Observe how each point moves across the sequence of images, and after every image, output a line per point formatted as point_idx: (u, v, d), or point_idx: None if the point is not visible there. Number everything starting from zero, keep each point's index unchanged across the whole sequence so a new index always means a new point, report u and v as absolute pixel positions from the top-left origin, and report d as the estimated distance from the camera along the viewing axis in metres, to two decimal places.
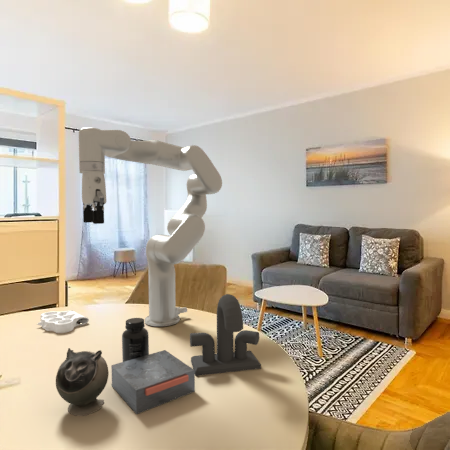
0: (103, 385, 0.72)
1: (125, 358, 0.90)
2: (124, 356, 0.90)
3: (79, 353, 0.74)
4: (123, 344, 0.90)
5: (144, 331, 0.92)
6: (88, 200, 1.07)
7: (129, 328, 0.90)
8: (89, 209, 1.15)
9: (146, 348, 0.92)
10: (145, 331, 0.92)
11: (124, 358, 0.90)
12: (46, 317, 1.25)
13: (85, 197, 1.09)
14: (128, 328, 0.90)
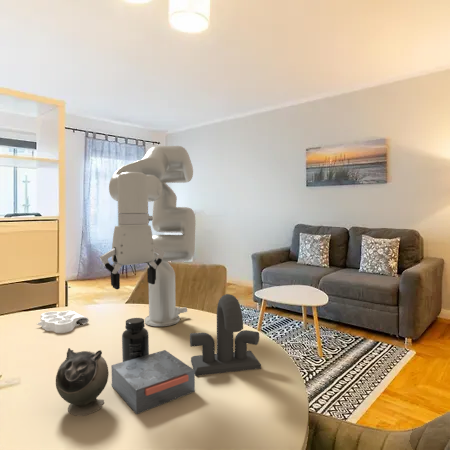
0: (103, 385, 0.72)
1: (125, 358, 0.90)
2: (124, 356, 0.90)
3: (79, 353, 0.74)
4: (123, 344, 0.90)
5: (144, 331, 0.92)
6: (145, 259, 0.91)
7: (129, 328, 0.90)
8: None
9: (146, 348, 0.92)
10: (145, 331, 0.92)
11: (124, 358, 0.90)
12: (46, 317, 1.25)
13: (137, 256, 0.89)
14: (128, 328, 0.90)
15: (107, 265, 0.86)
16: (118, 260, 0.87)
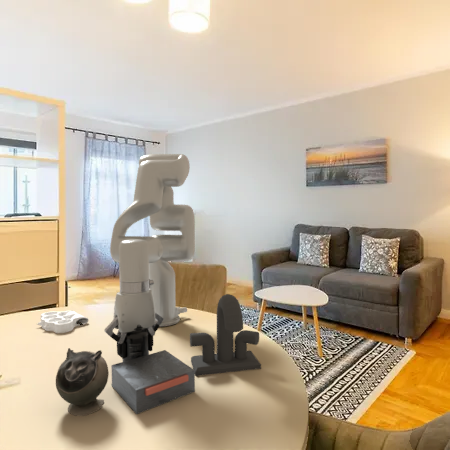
0: (103, 385, 0.72)
1: (125, 358, 0.90)
2: None
3: (79, 353, 0.74)
4: None
5: (144, 331, 0.92)
6: (147, 324, 0.92)
7: None
8: None
9: (146, 348, 0.92)
10: (145, 331, 0.92)
11: (124, 358, 0.90)
12: (46, 317, 1.25)
13: (138, 322, 0.91)
14: None
15: (113, 336, 0.88)
16: (120, 329, 0.88)
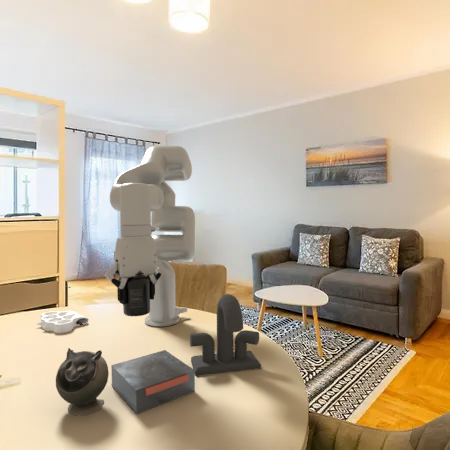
0: (103, 385, 0.72)
1: (126, 304, 0.87)
2: None
3: (79, 353, 0.74)
4: None
5: (145, 278, 0.89)
6: (148, 271, 0.89)
7: None
8: None
9: (147, 295, 0.89)
10: (146, 278, 0.89)
11: (125, 304, 0.88)
12: (46, 317, 1.25)
13: (139, 268, 0.88)
14: None
15: (114, 280, 0.85)
16: (120, 273, 0.85)
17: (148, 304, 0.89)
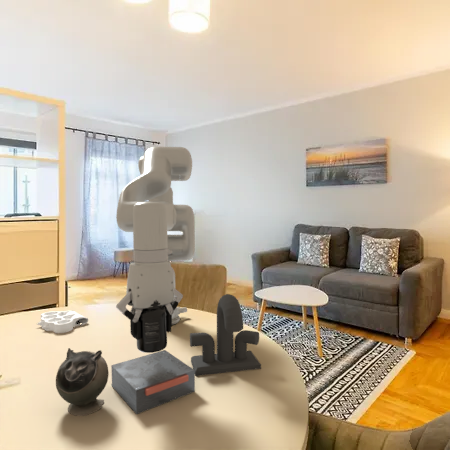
0: (103, 385, 0.72)
1: (140, 339, 0.77)
2: None
3: (79, 353, 0.74)
4: None
5: (162, 308, 0.79)
6: (165, 300, 0.79)
7: None
8: None
9: (164, 328, 0.79)
10: (163, 308, 0.79)
11: None
12: (46, 317, 1.25)
13: (155, 298, 0.78)
14: None
15: (127, 313, 0.75)
16: (134, 304, 0.75)
17: (165, 338, 0.79)
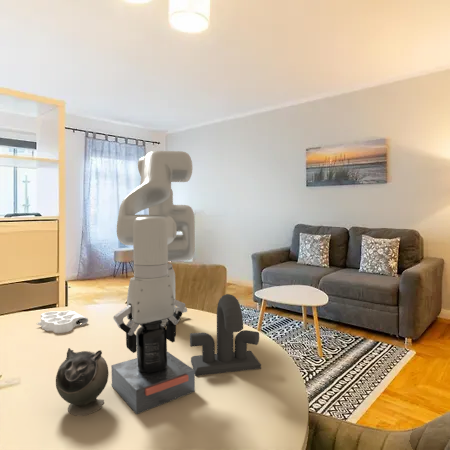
0: (103, 385, 0.72)
1: (140, 360, 0.78)
2: (139, 357, 0.78)
3: (79, 353, 0.74)
4: (138, 343, 0.78)
5: (162, 328, 0.80)
6: (165, 315, 0.80)
7: (144, 325, 0.78)
8: None
9: (164, 348, 0.79)
10: (163, 328, 0.80)
11: (139, 360, 0.78)
12: (46, 317, 1.25)
13: (156, 313, 0.78)
14: (143, 325, 0.78)
15: (122, 326, 0.75)
16: (134, 319, 0.75)
17: (165, 358, 0.79)
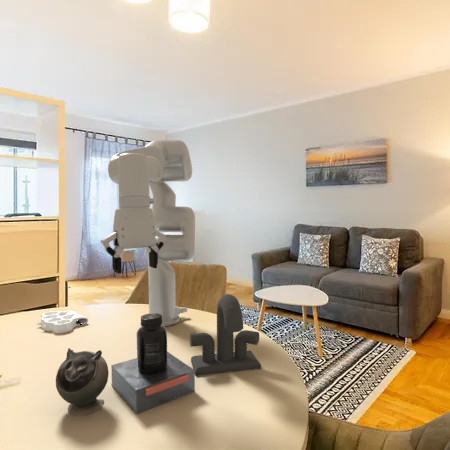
0: (103, 385, 0.72)
1: (141, 360, 0.78)
2: (139, 357, 0.78)
3: (79, 353, 0.74)
4: (138, 343, 0.78)
5: (162, 328, 0.80)
6: (147, 242, 0.89)
7: (145, 325, 0.78)
8: None
9: (164, 348, 0.79)
10: (163, 328, 0.80)
11: (139, 360, 0.78)
12: (46, 317, 1.25)
13: (139, 239, 0.88)
14: (144, 325, 0.78)
15: (108, 249, 0.84)
16: (120, 244, 0.85)
17: (165, 358, 0.79)
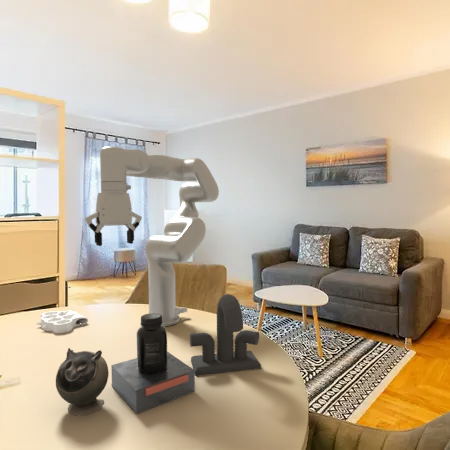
0: (103, 385, 0.72)
1: (141, 360, 0.78)
2: (139, 357, 0.78)
3: (79, 353, 0.74)
4: (138, 343, 0.78)
5: (162, 328, 0.80)
6: (124, 221, 1.07)
7: (145, 325, 0.78)
8: None
9: (165, 348, 0.79)
10: (163, 328, 0.80)
11: (139, 360, 0.78)
12: (46, 317, 1.25)
13: (117, 218, 1.05)
14: (144, 325, 0.78)
15: (91, 225, 1.02)
16: (100, 221, 1.03)
17: (165, 358, 0.79)
